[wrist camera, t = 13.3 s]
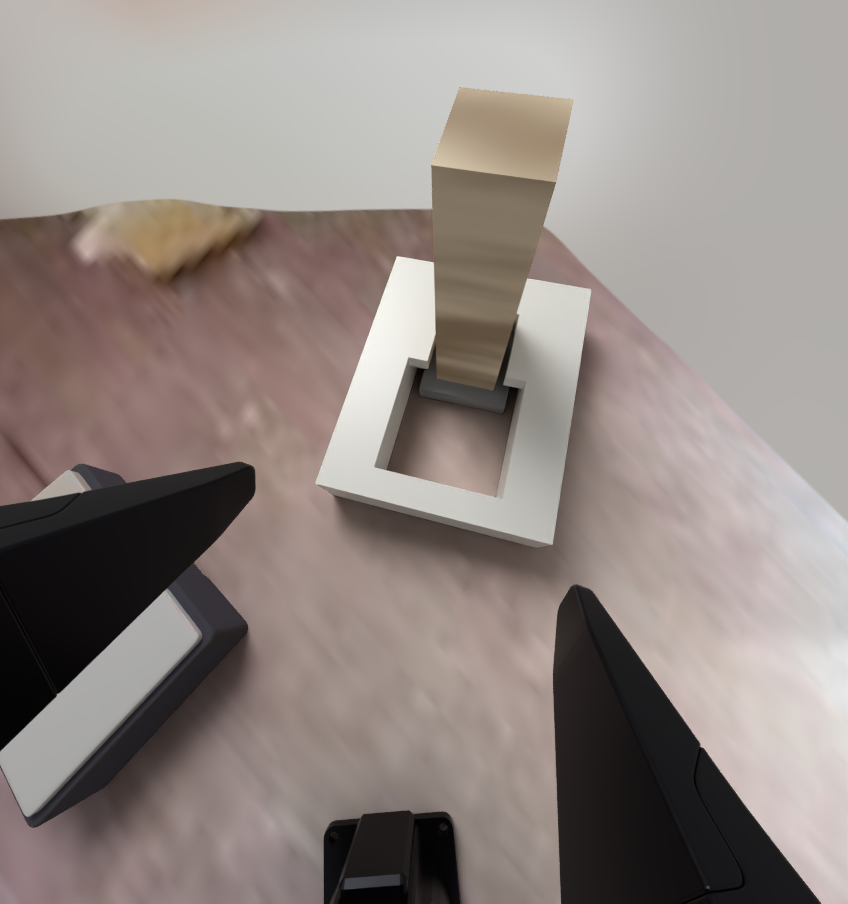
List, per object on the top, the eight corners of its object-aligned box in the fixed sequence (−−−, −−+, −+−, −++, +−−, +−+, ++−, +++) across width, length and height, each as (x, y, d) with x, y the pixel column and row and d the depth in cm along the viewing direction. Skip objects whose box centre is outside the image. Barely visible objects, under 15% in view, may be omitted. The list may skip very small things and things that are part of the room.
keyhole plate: (535, 547, 22) (552, 544, 19) (333, 495, 24) (315, 483, 20) (572, 323, 27) (591, 289, 23) (402, 292, 28) (397, 256, 25)
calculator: (68, 456, 22) (207, 638, 18) (128, 475, 26) (253, 627, 22) (-103, 599, 20) (9, 847, 15) (-8, 595, 24) (102, 791, 19)
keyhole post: (502, 414, 25) (584, 210, 11) (420, 396, 26) (393, 182, 11) (517, 342, 27) (606, 84, 12) (440, 327, 27) (439, 67, 13)
